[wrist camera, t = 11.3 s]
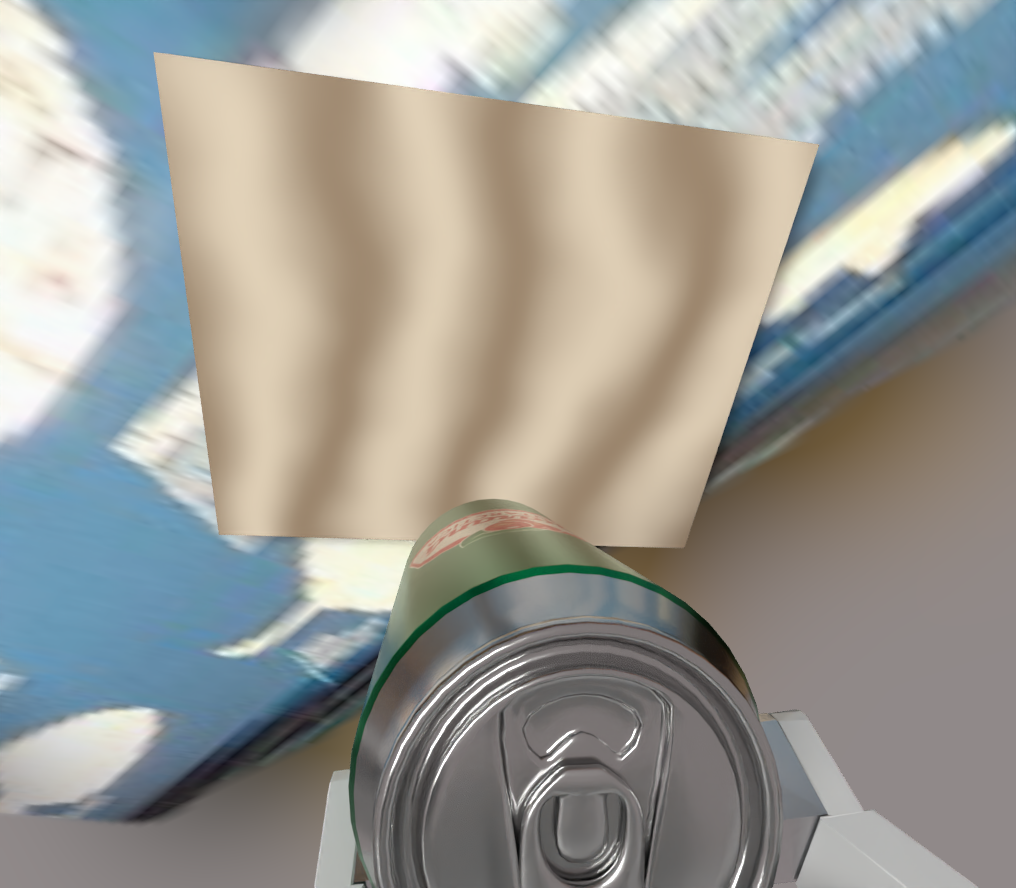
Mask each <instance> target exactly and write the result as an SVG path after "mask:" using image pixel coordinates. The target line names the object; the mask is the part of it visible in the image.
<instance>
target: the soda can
mask: <svg viewBox="0 0 1016 888" xmlns="http://www.w3.org/2000/svg"><path fill="white" fill-rule="evenodd" d="M348 789H349V804H350V819H351V825H352V829H353V834H354V838H355V842H356V846H357V851H358V855H359V857H360V860H361V862H362V864H363V867H364V869H365V872H366V874H367V876H368V879H369V881H370V884H371V886H372V888H772V887H773V884H774V880H775V876H776V871H777V867H778V862H779V858H780V854H781V844H782V832H783V806H782V792H781V785H780V780H779V776H778V771H777V767H776V762H775V758H774V755H773V753H772V750H771V747H770V745H769V742H768V740H767V737H766V735H765V732H764V730H763V727H762V725H761V723H760V719H759V714H758V710H757V705H756V702H755V700H754V697H753V694H752V692H751V689H750V687H749V684H748V682H747V679H746V677H745V674H744V672H743V671H742V669H741V668H740V666H739V664H738V662H737V660H736V659H735V657H734V655H733V654H732V652H731V650H730V648H729V647H728V646H727V645H726V643H725V642H724V641H723V640H722V638H721V637H720V636H719V635H718V634H717V632H716V631H715V630H714V629H713V628H712V626H711V625H710V624H709V623H708V622H707V621H706V620H705V619H704V618H702V617H701V616H700V615H699V614H698V613H697V612H696V611H695V610H693V609H692V608H691V607H690V606H689V605H688V604H687V603H686V602H684V601H682V600H681V599H679V598H678V597H676V596H674V595H673V594H671V593H670V592H668V591H666V590H665V589H663V588H662V587H660V586H658V585H657V584H655V583H654V582H652V581H650V580H649V579H647V578H645V577H644V576H642V575H640V574H639V573H637V572H636V571H634V570H632V569H631V568H629V567H628V566H626V565H624V564H623V563H621V562H619V561H618V560H616V559H614V558H613V557H611V556H610V555H608V554H606V553H605V552H603V551H601V550H600V549H598V548H597V547H595V546H593V545H592V544H590V543H588V542H587V541H585V540H583V539H582V538H580V537H579V536H577V535H575V534H574V533H572V532H570V531H569V530H567V529H566V528H564V527H562V526H561V525H559V524H557V523H556V522H554V521H553V520H551V519H549V518H548V517H546V516H544V515H543V514H541V513H539V512H538V511H536V510H535V509H533V508H531V507H528V506H526V505H524V504H521V503H518V502H514V501H510V500H503V499H483V500H476V501H472V502H468V503H464V504H462V505H459V506H457V507H455V508H452V509H451V510H449V511H447V512H446V513H444V514H442V515H441V516H439V517H438V518H437V519H436V520H435V521H434V522H432V523H431V524H430V525H429V526H428V527H427V528H426V530H425V531H424V532H423V533H422V534H421V535H420V537H419V538H418V540H417V542H416V543H415V545H414V546H413V548H412V550H411V553H410V555H409V557H408V560H407V562H406V566H405V569H404V572H403V576H402V579H401V582H400V586H399V589H398V593H397V596H396V599H395V603H394V606H393V609H392V613H391V616H390V619H389V623H388V626H387V629H386V633H385V636H384V639H383V643H382V646H381V650H380V653H379V656H378V660H377V663H376V666H375V670H374V673H373V676H372V680H371V683H370V686H369V690H368V693H367V696H366V700H365V703H364V706H363V710H362V713H361V717H360V721H359V724H358V728H357V732H356V736H355V740H354V744H353V748H352V753H351V764H350V774H349V785H348Z"/></svg>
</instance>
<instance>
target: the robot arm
mask: <svg viewBox="0 0 1016 888" xmlns="http://www.w3.org/2000/svg"><path fill="white" fill-rule="evenodd" d="M759 719H760V723H761V725H762V727H763V730H764V732H765V735H766V737H767V740H768V742H769V745H770V747H771V750H772V753H773V755H774V758H775V762H776V767H777V771H778V776H779V780H780V785H781V792H782V806H783V832H782V844H781V854H780V858H779V862H778V867H777V871H776V876H775V880H774V884H779V883H787V882H796V881H797V882H796V886H797V887H798V888H979V887H977V886H976V885H975V884H973V883H972V882H971V881H969V880H968V879H967V878H965V877H964V876H962V875H961V874H960V873H958V872H957V871H956V870H954V869H953V868H952V867H950V866H949V865H948V864H946V863H945V862H944V861H942V860H941V859H940V858H938V857H937V856H936V855H934V854H933V853H931V852H930V851H929V850H927V849H926V848H925V847H923V846H922V845H921V844H919V843H918V842H917V841H915V840H914V839H913V838H911V837H910V836H909V835H907V834H906V833H905V832H903V831H902V830H900V829H899V828H898V827H897V826H895V825H894V824H892V823H891V822H890V821H888V820H887V819H886V818H884V817H883V816H882V815H880V814H879V813H878V812H876V811H875V810H863V808H862V806H861V804H860V803H859V801H858V799H857V798H856V796H855V795H854V793H853V791H852V789H851V788H850V786H849V784H848V783H847V781H846V780H845V778H844V776H843V775H842V773H841V771H840V770H839V768H838V766H837V765H836V763H835V761H834V760H833V758H832V757H831V755H830V753H829V751H828V750H827V748H826V746H825V745H824V743H823V741H822V740H821V738H820V736H819V735H818V733H817V731H816V730H815V728H814V727H813V725H812V723H811V722H810V720H809V718H808V717H807V716H806V715H805V714H804V713H803V712H802V711H800V710H790V711H783V712H775V713H768V714H767V713H764V714H759ZM349 774H350V769H348V770H341V771H334V773H333V775H332V778H331V781H330V784H329V790H328V796H327V803H326V810H325V817H324V824H323V830H322V837H321V844H320V851H319V858H318V864H317V871H316V878H315V885H314V888H372V886H371V884H370V881H369V879H368V876H367V874H366V872H365V869H364V867H363V864H362V862H361V860H360V857H359V855H358V851H357V846H356V842H355V838H354V834H353V829H352V825H351V819H350V804H349V789H348V785H349Z"/></svg>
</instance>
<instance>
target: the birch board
mask: <svg viewBox="0 0 1016 888" xmlns="http://www.w3.org/2000/svg"><path fill="white" fill-rule="evenodd" d="M154 58H155V66H156V73H157V81H158V88H159V95H160V103H161V110H162V117H163V125H164V132H165V140H166V147H167V154H168V162H169V169H170V176H171V184H172V191H173V198H174V206H175V213H176V221H177V228H178V235H179V243H180V250H181V257H182V265H183V272H184V280H185V287H186V294H187V302H188V309H189V316H190V324H191V331H192V339H193V346H194V353H195V361H196V368H197V375H198V383H199V390H200V398H201V405H202V412H203V420H204V427H205V434H206V442H207V449H208V457H209V464H210V471H211V479H212V486H213V493H214V501H215V508H216V516H217V523H218V530H219V535H252V536H286V537H320V538H354V539H388V540H418V538H419V537H420V535H421V534H422V533H423V532H424V531H425V530H426V528H427V527H428V526H429V525H430V524H431V523H432V522H434V521H435V520H436V519H437V518H438V517H439V516H441V515H442V514H444V513H446V512H447V511H449V510H451V509H452V508H455V507H457V506H459V505H462V504H464V503H468V502H472V501H476V500H483V499H503V500H510V501H514V502H518V503H521V504H524V505H526V506H528V507H531V508H533V509H535V510H536V511H538V512H539V513H541V514H543V515H544V516H546V517H548V518H549V519H551V520H553V521H554V522H556V523H557V524H559V525H561V526H562V527H564V528H566V529H567V530H569V531H570V532H572V533H574V534H575V535H577V536H579V537H580V538H582V539H583V540H585V541H587V542H588V543H590V544H592V545H593V546H624V547H659V548H685V545H686V542H687V539H688V536H689V533H690V530H691V527H692V524H693V521H694V518H695V515H696V511H697V509H698V506H699V503H700V500H701V497H702V494H703V491H704V488H705V485H706V482H707V479H708V476H709V473H710V470H711V467H712V464H713V461H714V458H715V455H716V452H717V449H718V446H719V443H720V440H721V437H722V434H723V431H724V428H725V425H726V422H727V419H728V416H729V413H730V410H731V407H732V404H733V401H734V398H735V395H736V392H737V389H738V386H739V383H740V380H741V377H742V374H743V371H744V368H745V365H746V362H747V359H748V356H749V353H750V350H751V347H752V344H753V341H754V338H755V335H756V332H757V329H758V326H759V323H760V320H761V317H762V314H763V311H764V308H765V305H766V302H767V299H768V296H769V293H770V290H771V287H772V284H773V281H774V278H775V275H776V272H777V269H778V266H779V263H780V260H781V257H782V254H783V251H784V249H785V246H786V243H787V240H788V237H789V234H790V231H791V228H792V225H793V222H794V219H795V216H796V213H797V210H798V207H799V204H800V201H801V198H802V195H803V192H804V189H805V186H806V183H807V180H808V177H809V174H810V171H811V168H812V165H813V162H814V159H815V156H816V153H817V150H818V147H819V145H818V144H812V143H805V142H799V141H792V140H784V139H777V138H770V137H763V136H756V135H748V134H741V133H734V132H727V131H720V130H712V129H705V128H698V127H691V126H684V125H676V124H669V123H662V122H655V121H648V120H640V119H633V118H626V117H619V116H612V115H604V114H597V113H590V112H583V111H576V110H568V109H561V108H554V107H547V106H540V105H532V104H525V103H518V102H511V101H504V100H496V99H489V98H482V97H475V96H468V95H460V94H453V93H446V92H439V91H432V90H424V89H417V88H410V87H403V86H396V85H388V84H381V83H374V82H367V81H360V80H352V79H345V78H338V77H331V76H324V75H316V74H309V73H302V72H295V71H288V70H280V69H273V68H266V67H259V66H252V65H244V64H237V63H230V62H223V61H216V60H208V59H201V58H194V57H187V56H180V55H172V54H164V53H155V52H154Z"/></svg>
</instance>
